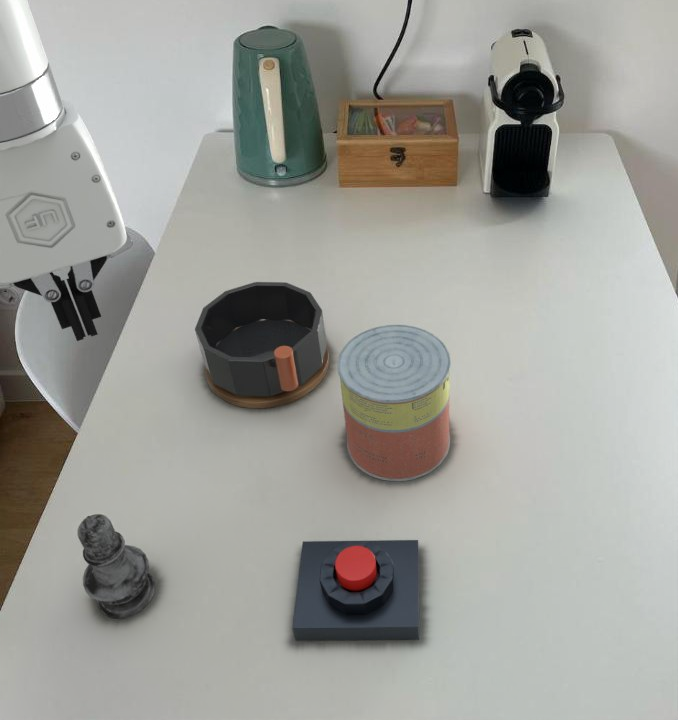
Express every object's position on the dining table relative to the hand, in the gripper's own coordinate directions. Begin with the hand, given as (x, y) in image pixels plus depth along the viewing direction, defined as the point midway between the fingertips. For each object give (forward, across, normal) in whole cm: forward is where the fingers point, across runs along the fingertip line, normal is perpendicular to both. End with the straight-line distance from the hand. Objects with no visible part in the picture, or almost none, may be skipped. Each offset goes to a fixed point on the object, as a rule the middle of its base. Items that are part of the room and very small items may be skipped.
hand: (83, 327), depth 63 cm
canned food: (+27, +26, -1) cm, 38 cm away
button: (+23, +14, -16) cm, 31 cm away
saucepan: (+26, +18, +17) cm, 36 cm away
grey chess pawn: (+27, -5, -5) cm, 28 cm away
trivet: (+27, +18, +18) cm, 37 cm away
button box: (+27, +14, -16) cm, 34 cm away
